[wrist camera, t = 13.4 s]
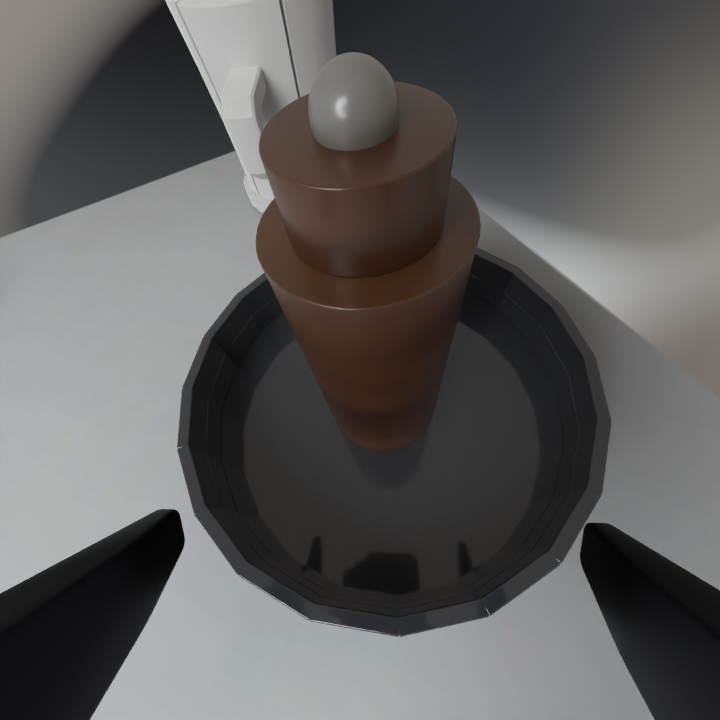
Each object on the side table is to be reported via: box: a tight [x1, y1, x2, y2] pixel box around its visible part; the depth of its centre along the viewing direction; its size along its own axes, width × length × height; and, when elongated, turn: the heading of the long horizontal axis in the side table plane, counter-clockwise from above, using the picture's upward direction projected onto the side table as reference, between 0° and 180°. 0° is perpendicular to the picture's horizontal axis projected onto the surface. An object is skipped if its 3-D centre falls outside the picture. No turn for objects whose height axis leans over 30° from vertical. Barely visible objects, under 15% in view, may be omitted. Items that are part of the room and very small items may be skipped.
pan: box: [177, 248, 611, 637], centre depth 16 cm, size 18×18×4 cm
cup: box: [165, 0, 336, 213], centre depth 22 cm, size 10×9×12 cm
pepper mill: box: [256, 52, 481, 452], centre depth 11 cm, size 5×5×14 cm
